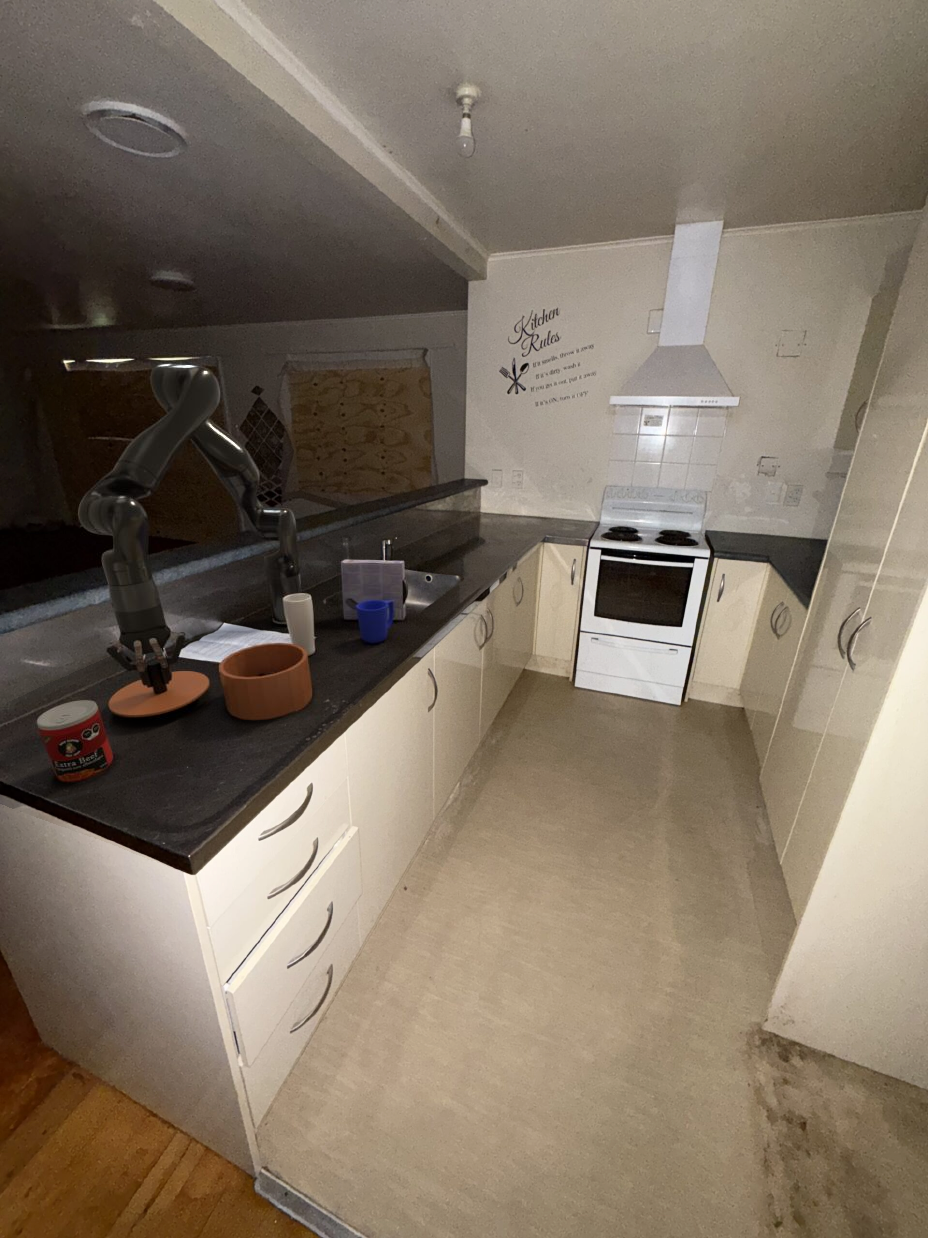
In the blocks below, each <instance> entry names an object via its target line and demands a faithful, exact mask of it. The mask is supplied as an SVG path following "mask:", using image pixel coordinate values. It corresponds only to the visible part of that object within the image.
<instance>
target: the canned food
mask: <svg viewBox="0 0 928 1238" xmlns="http://www.w3.org/2000/svg"><path fill="white" fill-rule="evenodd" d="M36 725H37V729H38V731H39V735H40V738H41V740H42V742H43V745H44V748H45V750H46V752H47V755H48V758H49V760H50V763H51V766H52V769H53V771H54V773H55V776H56V778H57V779H58V780H59V781H60V782H62V783H63V782H64V783H76V782H81V781H85V780H87V779H90V778H93V777H95V776H97V775H99V774H100V773H102V772H104V771H105V770H106V769H108V767H110V765H111V764H112V763H113V760H114V754H113V751H112V748H111V744H110V742H109V738H108V734H107V731H106V728H105V725H104V721H103V719H102V715H101V712H100V709H99V706H98V705H97V703H96V702H95V701H94V700H90V699H81V700H73V701H70V702H69V701H68V702H65V703H62V704H59V705H57V706H55V707H52V708H50V709H48V710H46V711H45V712H43V713H42V714H41V715H39V717H38V718H37V719H36Z"/></svg>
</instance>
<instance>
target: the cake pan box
mask: <svg viewBox="0 0 928 1238" xmlns="http://www.w3.org/2000/svg"><path fill="white" fill-rule="evenodd" d="M340 572H341V592H342V609H343V610H342V612H343V619H344V621H346V620H347V621H348V620H352V621H353V620H355V621H356V620H358V615H357V609H356V605H357V604H358V603H360V602H363V601H368V600H381V601H387V600H392V601H393V603H394V610H393V621H405V618H406V615H407V613H406V611H407V610H406V601H407V598H408V596H409V584H408V581H407V579H406V575H405V573H406V572H405V561H404V560H378V559H343V560H341V561H340ZM388 620H389V604H388ZM388 620H387V621H388Z"/></svg>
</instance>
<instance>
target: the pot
mask: <svg viewBox="0 0 928 1238" xmlns="http://www.w3.org/2000/svg"><path fill="white" fill-rule="evenodd" d="M272 671H275V674H270V675H269V672H272ZM218 672H219V676H220V681H221V686H222V691H223V696H224V700H225V705H226V710H227V712H228V713H229V714H230V715H231V716H233V717H235V718H238V719H241V720H247V721H261V720H271V719H274V718H275V719H276V718H278V717H283V716H285V715H288V714H290V713H293V712H295V713H297V712H299V711H301V710H302V709H304V708H305V707H306V706H307V705H308V704H310V702H311V700H312V697H313V685H312V678H311V677H312V676H311V670H310V662H309V656H308V655H307V652H306V650H305V649H304V648H302V647H301V646H298V645H294V644H292V643H291V642H290V643H289V642H288V643H287V642H273V643H272V642H271V643H262V644H257V645H256V644H255V645H252V646H248V647H245V648H242V649H239V650H237V651H235V652H232V653H231V654H229V655H228V656H226V657H225V658H223V659H222V660H221V662H220V663H219V665H218ZM262 673H264V674H265V676H259V677H258V674H262Z"/></svg>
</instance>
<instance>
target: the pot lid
mask: <svg viewBox="0 0 928 1238" xmlns="http://www.w3.org/2000/svg"><path fill="white" fill-rule="evenodd" d="M146 666H147V669H148V673H149V677H150V680H151V684H152V687H150V688H147V685H146V686H144V685H143V684H142V680H141V679H139V680H136V681H134V682H132V683H130V684H127V685H125V686H124V687H122V688H121V689H119V690H117V692H115V693H114V694H113V695H112V696H111V697H110V699H109V701H108V709H109V711H110V712H111V713H112V714H114V715H116V716H118V717H123V718H146V717H152V716H157V715H162V714H165V713H169V712H173V711H176V710H178V709H181V708H183V707H185V706H188V705H189V704H192V703H193V702H195V701H196V700H198V699H199V698H201V697H202V696H203V695H204V694H205V693H206V692H207V691H208V689H209V688H210V679H209V677H208V676H206V675H205V674H204V673H202V672H197V671H192V670H191V671H190V670H179V671H178V670H177V671H176V670H175V671H171V672H172V680H171V681H170V682H169V684H165V683H164V679H163V675H162V671H161V665H160V662H159V660H158V659H153V660H150V661H146Z"/></svg>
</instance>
